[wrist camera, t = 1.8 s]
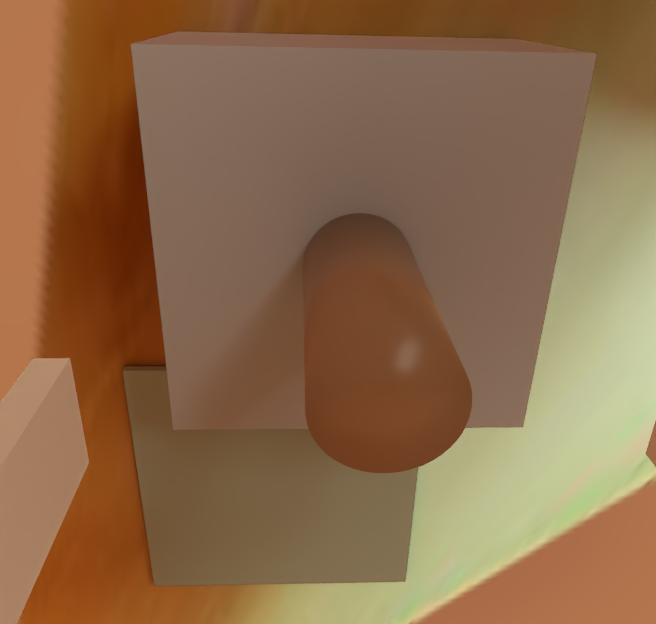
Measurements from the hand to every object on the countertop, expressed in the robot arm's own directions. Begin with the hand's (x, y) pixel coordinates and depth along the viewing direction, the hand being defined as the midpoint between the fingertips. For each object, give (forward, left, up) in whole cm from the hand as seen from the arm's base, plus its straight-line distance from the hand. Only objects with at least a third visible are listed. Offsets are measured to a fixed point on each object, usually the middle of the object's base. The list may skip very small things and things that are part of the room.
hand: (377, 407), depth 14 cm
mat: (+3, +16, -15) cm, 22 cm away
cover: (0, 0, -15) cm, 15 cm away
